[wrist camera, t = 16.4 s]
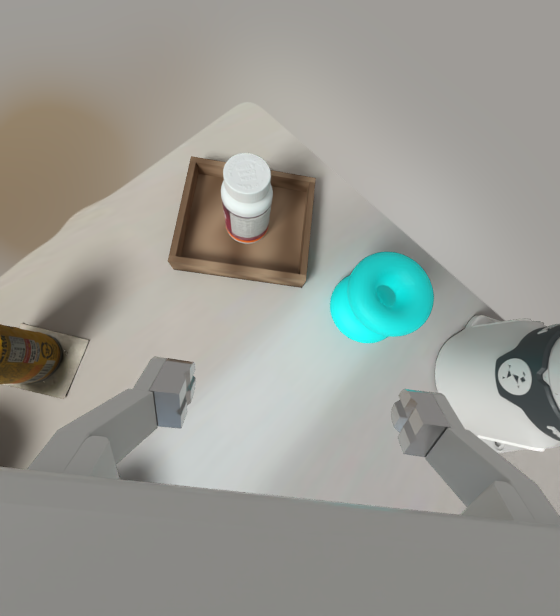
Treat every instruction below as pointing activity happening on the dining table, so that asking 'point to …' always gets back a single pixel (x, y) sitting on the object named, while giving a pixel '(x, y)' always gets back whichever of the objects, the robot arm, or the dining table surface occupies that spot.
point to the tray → (230, 253)
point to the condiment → (39, 359)
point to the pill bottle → (246, 197)
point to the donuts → (382, 298)
